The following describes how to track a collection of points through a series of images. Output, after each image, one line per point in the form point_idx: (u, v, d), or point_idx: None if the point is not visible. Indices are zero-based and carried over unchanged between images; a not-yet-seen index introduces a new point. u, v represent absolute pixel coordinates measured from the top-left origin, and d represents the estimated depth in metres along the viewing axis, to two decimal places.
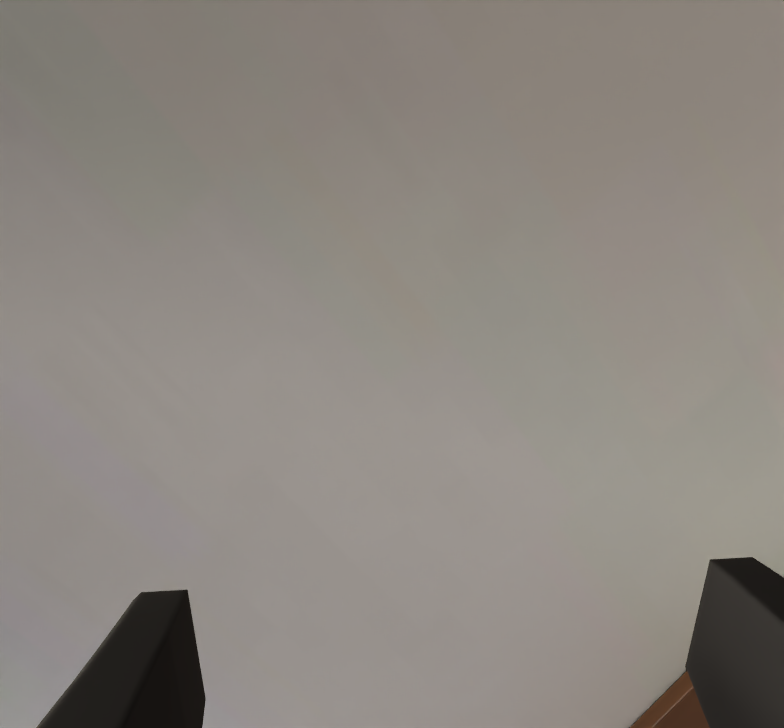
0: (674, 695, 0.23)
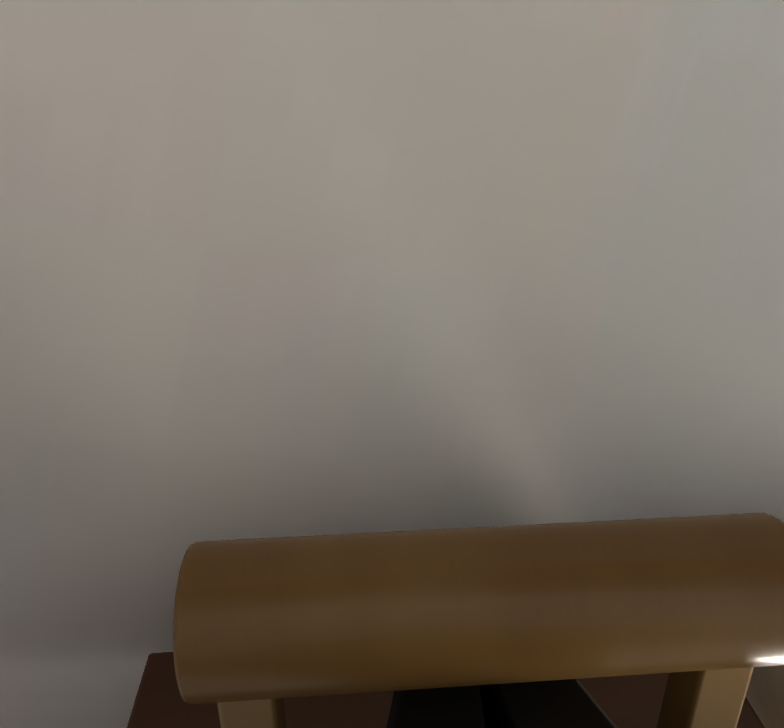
0: None
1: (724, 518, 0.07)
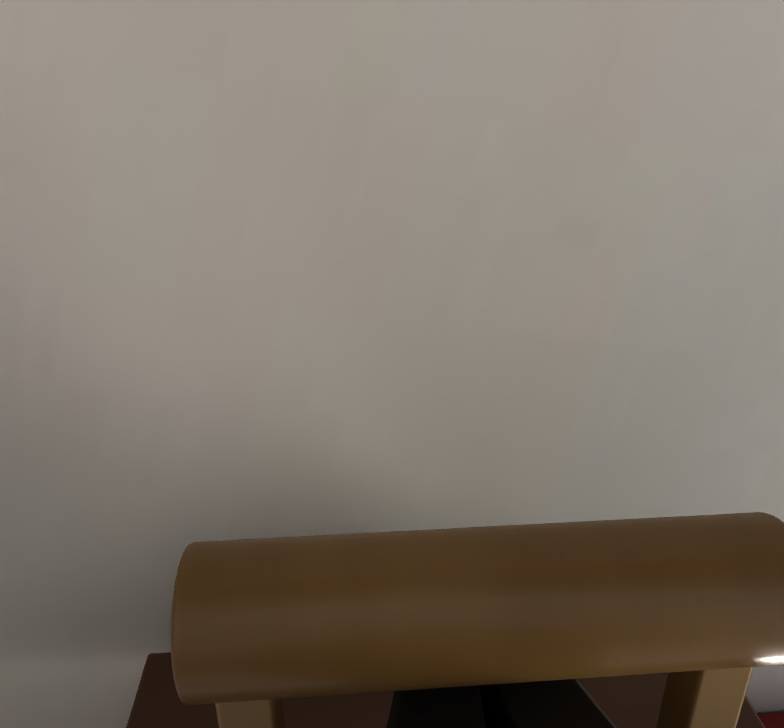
0: None
1: (723, 517, 0.07)
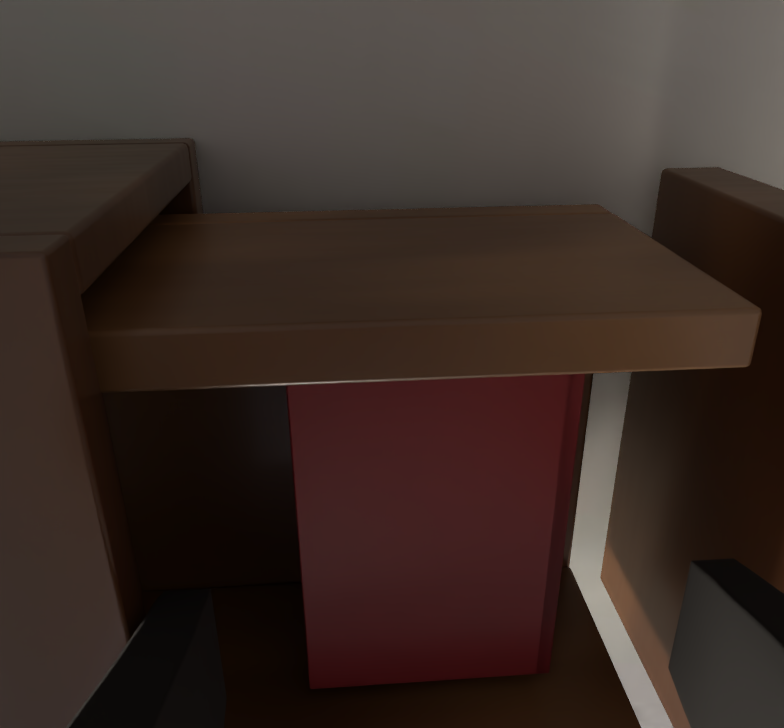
0: None
1: None
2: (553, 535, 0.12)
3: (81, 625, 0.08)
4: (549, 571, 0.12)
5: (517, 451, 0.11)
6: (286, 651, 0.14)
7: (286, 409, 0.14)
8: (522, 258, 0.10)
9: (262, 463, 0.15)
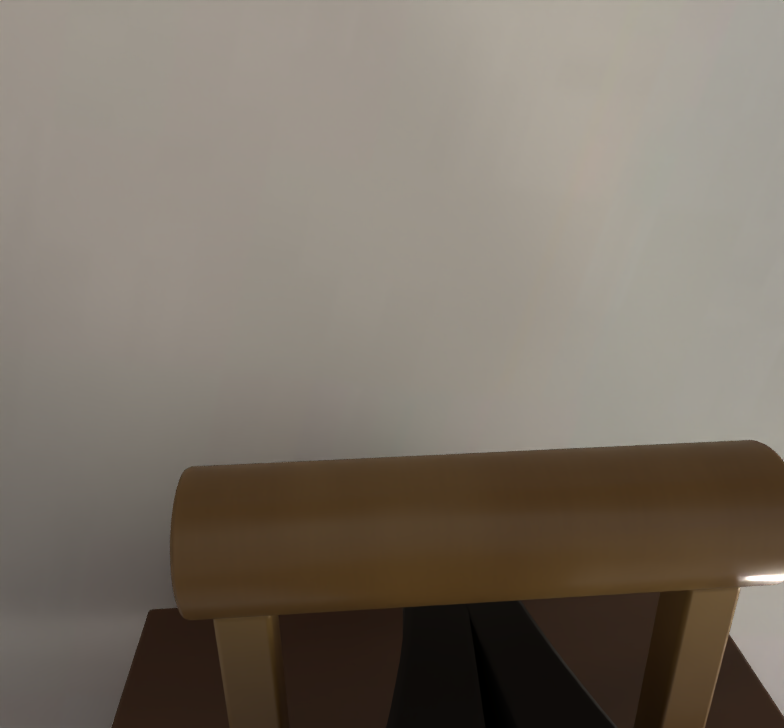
0: None
1: (710, 443, 0.07)
2: None
3: None
4: None
5: None
6: None
7: None
8: None
9: None
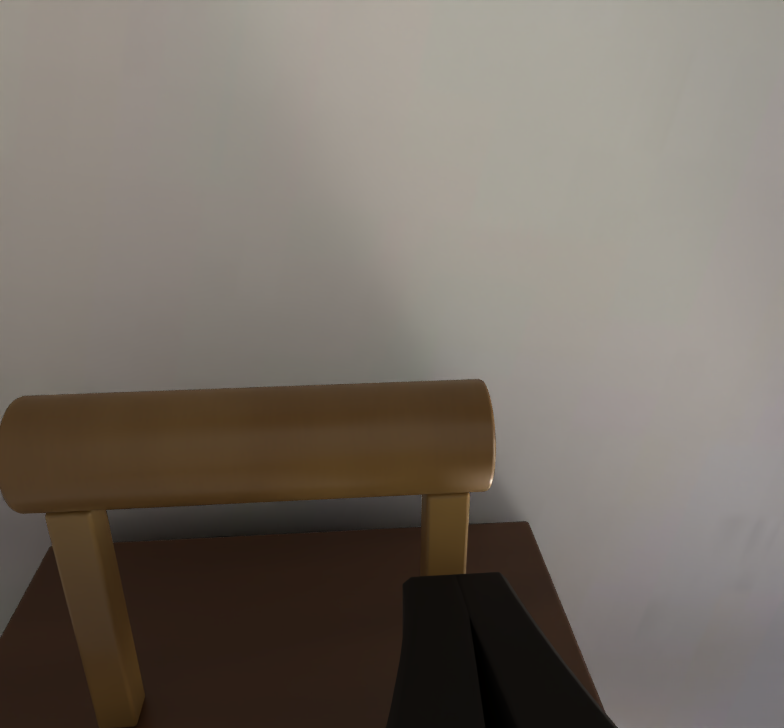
0: None
1: (441, 380, 0.09)
2: None
3: None
4: None
5: None
6: None
7: None
8: None
9: None
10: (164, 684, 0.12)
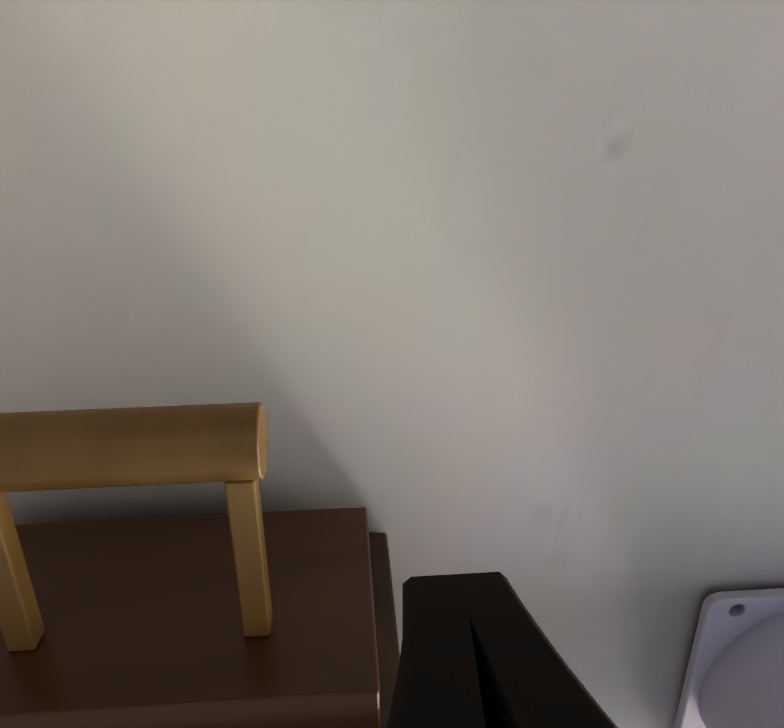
0: None
1: (231, 403, 0.14)
2: None
3: None
4: None
5: None
6: None
7: None
8: None
9: None
10: (60, 623, 0.16)
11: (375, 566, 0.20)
